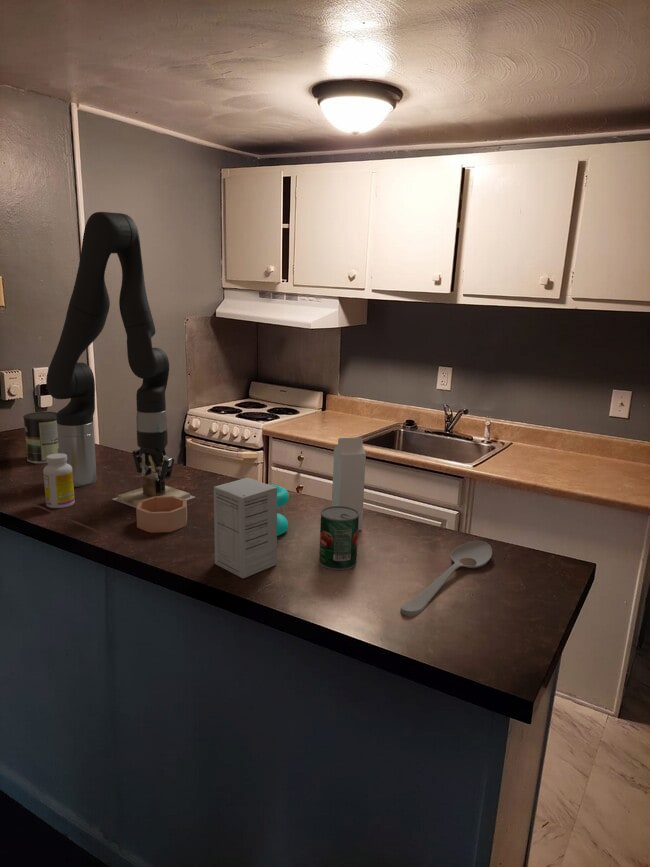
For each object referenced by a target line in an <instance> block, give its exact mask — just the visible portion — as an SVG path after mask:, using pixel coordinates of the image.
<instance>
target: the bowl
mask: <svg viewBox="0 0 650 867" xmlns="http://www.w3.org/2000/svg"><path fill="white" fill-rule="evenodd" d="M135 511H136V529H140V530H142V531H145V532H148V533H150V534H151V533H172V532H174V531H176V530H179V529H182V528H185V527H187V522H188V500H185V499H182V498H179V497H176V496H154V497H151V498H148V499H145V500H142V501H139V503H138V505H137V508H135Z"/></svg>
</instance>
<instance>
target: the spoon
mask: <svg viewBox="0 0 650 867" xmlns="http://www.w3.org/2000/svg"><path fill="white" fill-rule="evenodd" d="M492 555H493V549H492V547H491V544H489V543H488V542H486V541H483V540H473V541H468V542H465V543H462V544H459V545H458V546H457V547H455V548H454V549H453V550H452V551H451V553H450V559H451V561H452V562H454V563H453V564H451V566H449V568H447V570H445V571H444V572H443V573H442V574H441V575H439V577H437V578H436V579H435V580H434V581H433V582H432V583H430V584H429V585H428V586H427V587H426V588H425V589H424V590H422V591H421V592H419V593H418V594H417V595H416V596H414V597H413V598H412V599H410V600H409V601H408V602H406V603H404V604H403V605H402V606H401V607H400V614H401V615H403V616H406V617H414V616H417V615H418V614H420V613H422V612H423V611H424V610H426V608H427V606H428V604H429V603H430V602H431V600H433V598H434V597H435V595H436V594H437V593H439V591H440V589H441V588H442V587H443V586H444V585H445V584H446V582H447V581H448V580H449V578H450V577H452V575H453V573H454V572H455V571H456V570H457V569H459V568H461V567H464V568H467V569H478V568H481V567H483V566H485V565H486V564H488V562H489V561H490V559H491V558H492ZM462 559H472V560H474V561H475V562H476V563H475V565H465V564H464V563H462V562H461V560H462Z"/></svg>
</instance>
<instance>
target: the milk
mask: <svg viewBox="0 0 650 867" xmlns="http://www.w3.org/2000/svg"><path fill="white" fill-rule="evenodd" d="M363 444H364V443H363V437H362V436H360V437H359V436H358V437H339V438H338V439H337V445H336V446H335V447H333V464H332V467H333V468H332V486H331V487H332V491H331V506H345V507H350V508H353V509H355V510H357V511H358V512H359V523H358V531H362V529H363V517H364V516H363V514H364V513H363V511H364V495H365V479H366V478H365V476H366V461H367V460H366V458H367V457H366V456H367V453H366V451H365V450H366V449H365V447H364V445H363Z"/></svg>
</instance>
